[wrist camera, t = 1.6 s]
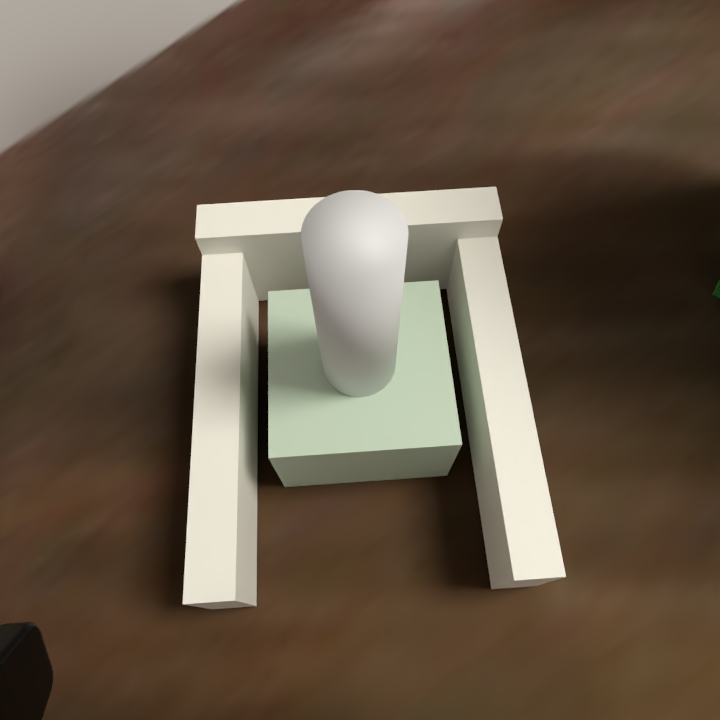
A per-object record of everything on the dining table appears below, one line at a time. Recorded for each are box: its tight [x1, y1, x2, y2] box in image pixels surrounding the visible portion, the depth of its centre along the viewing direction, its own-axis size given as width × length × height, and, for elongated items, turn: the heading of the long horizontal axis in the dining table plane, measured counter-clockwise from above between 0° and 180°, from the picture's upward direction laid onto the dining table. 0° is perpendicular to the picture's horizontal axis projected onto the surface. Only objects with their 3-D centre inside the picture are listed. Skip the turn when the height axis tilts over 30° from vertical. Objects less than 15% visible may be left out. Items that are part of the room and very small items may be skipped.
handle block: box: [268, 190, 462, 487], centre depth 18 cm, size 6×6×11 cm
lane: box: [183, 187, 566, 609], centre depth 21 cm, size 14×11×4 cm
